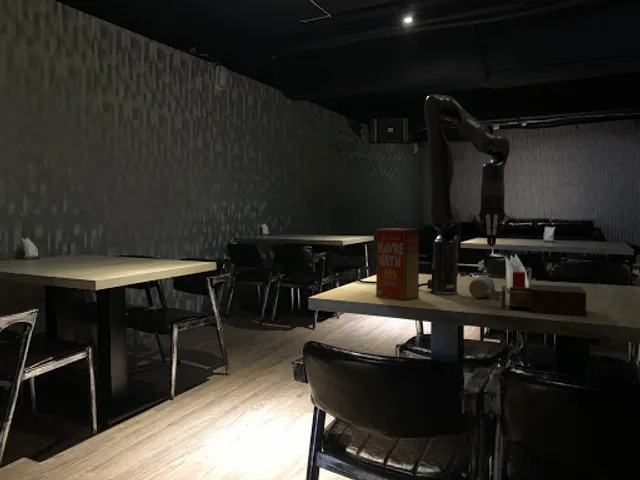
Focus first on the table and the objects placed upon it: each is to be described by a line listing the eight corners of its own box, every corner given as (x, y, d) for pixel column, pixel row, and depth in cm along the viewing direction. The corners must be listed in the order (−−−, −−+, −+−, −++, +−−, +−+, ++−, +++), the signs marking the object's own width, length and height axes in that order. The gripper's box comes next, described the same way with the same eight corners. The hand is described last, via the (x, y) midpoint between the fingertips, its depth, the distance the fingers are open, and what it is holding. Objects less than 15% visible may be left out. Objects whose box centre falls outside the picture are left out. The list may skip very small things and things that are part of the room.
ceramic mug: (467, 297, 178) (468, 276, 177) (473, 294, 184) (474, 274, 184) (497, 301, 172) (498, 279, 171) (503, 298, 179) (504, 277, 178)
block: (512, 300, 172) (512, 272, 172) (512, 299, 176) (512, 271, 176) (524, 301, 171) (525, 273, 170) (524, 299, 175) (524, 271, 174)
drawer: (484, 305, 158) (485, 289, 158) (486, 300, 169) (486, 284, 168) (549, 310, 151) (550, 293, 151) (546, 304, 162) (547, 288, 161)
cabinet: (530, 312, 153) (531, 289, 152) (529, 305, 164) (529, 284, 164) (585, 316, 147) (586, 292, 147) (579, 308, 159) (580, 286, 158)
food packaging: (374, 296, 180) (375, 228, 179) (389, 293, 187) (390, 227, 186) (405, 301, 171) (406, 229, 170) (419, 297, 178) (420, 228, 176)
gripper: (513, 194, 166) (512, 246, 167) (472, 195, 171) (471, 244, 172) (514, 194, 159) (512, 247, 160) (471, 194, 164) (470, 246, 165)
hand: (491, 246), depth 166 cm, fingers closed
